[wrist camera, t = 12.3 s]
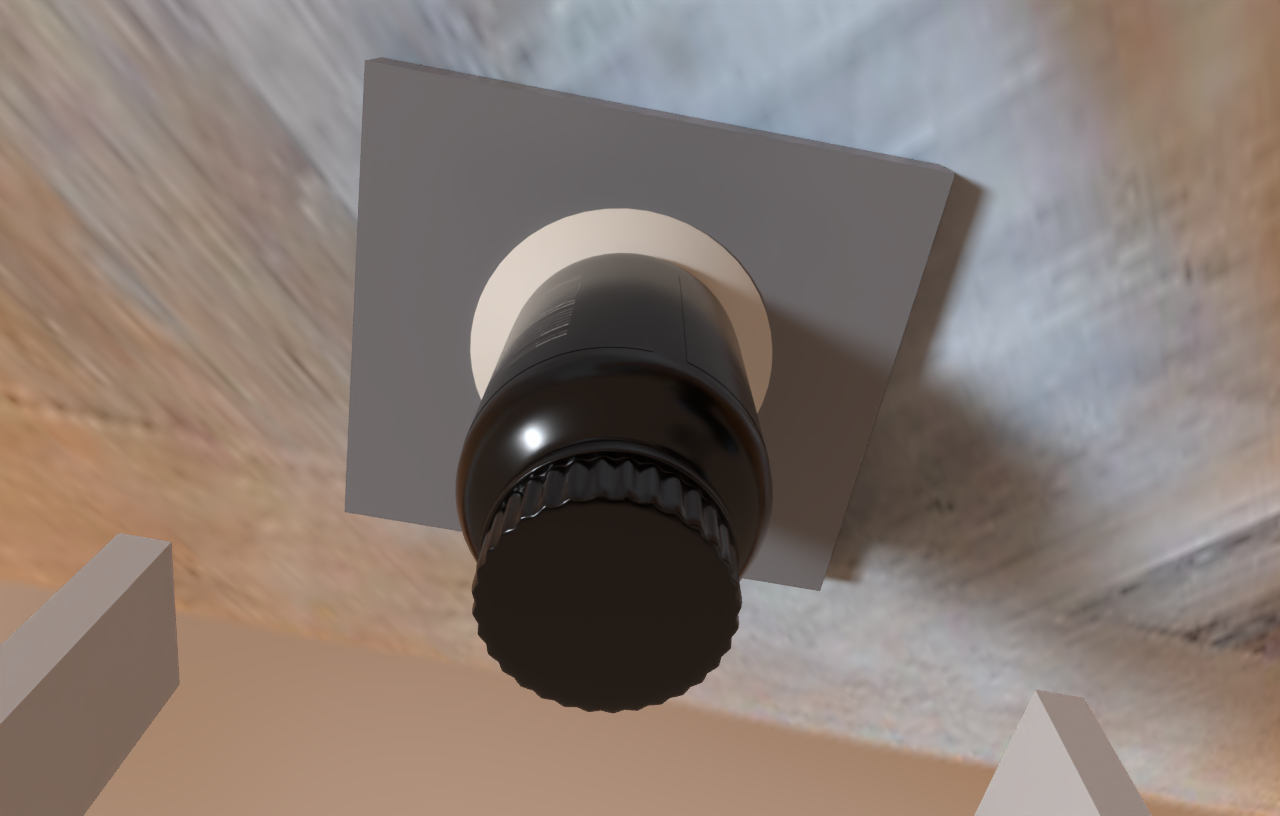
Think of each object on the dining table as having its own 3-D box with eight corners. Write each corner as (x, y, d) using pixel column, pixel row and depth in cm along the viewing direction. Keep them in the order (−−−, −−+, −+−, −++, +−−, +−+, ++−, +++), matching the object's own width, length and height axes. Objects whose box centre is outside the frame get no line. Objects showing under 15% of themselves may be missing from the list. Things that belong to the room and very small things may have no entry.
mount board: (939, 164, 25) (956, 174, 24) (813, 565, 31) (820, 592, 29) (381, 57, 24) (363, 60, 23) (359, 488, 30) (343, 513, 29)
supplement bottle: (541, 475, 28) (461, 776, 17) (486, 269, 25) (349, 469, 14) (756, 443, 27) (817, 734, 16) (724, 226, 24) (772, 404, 14)
